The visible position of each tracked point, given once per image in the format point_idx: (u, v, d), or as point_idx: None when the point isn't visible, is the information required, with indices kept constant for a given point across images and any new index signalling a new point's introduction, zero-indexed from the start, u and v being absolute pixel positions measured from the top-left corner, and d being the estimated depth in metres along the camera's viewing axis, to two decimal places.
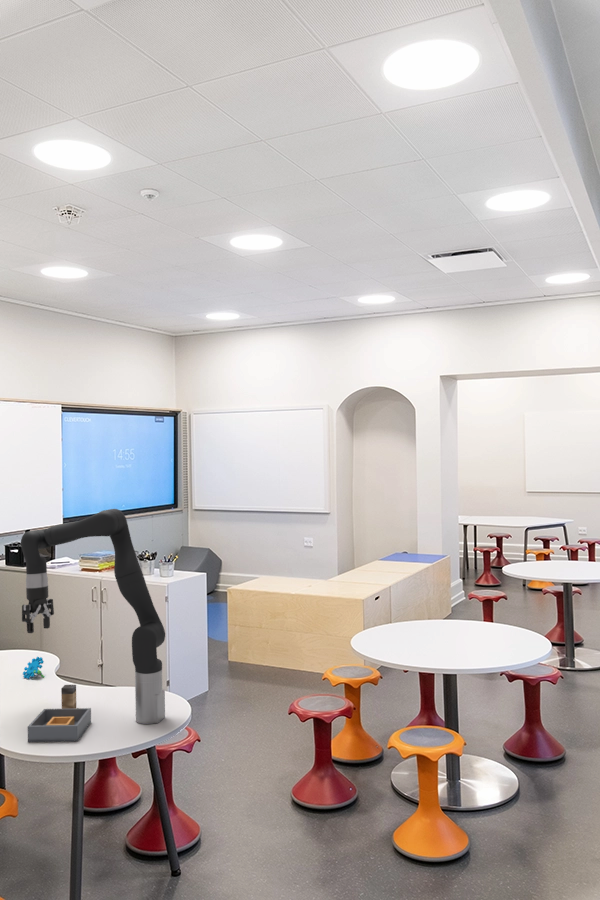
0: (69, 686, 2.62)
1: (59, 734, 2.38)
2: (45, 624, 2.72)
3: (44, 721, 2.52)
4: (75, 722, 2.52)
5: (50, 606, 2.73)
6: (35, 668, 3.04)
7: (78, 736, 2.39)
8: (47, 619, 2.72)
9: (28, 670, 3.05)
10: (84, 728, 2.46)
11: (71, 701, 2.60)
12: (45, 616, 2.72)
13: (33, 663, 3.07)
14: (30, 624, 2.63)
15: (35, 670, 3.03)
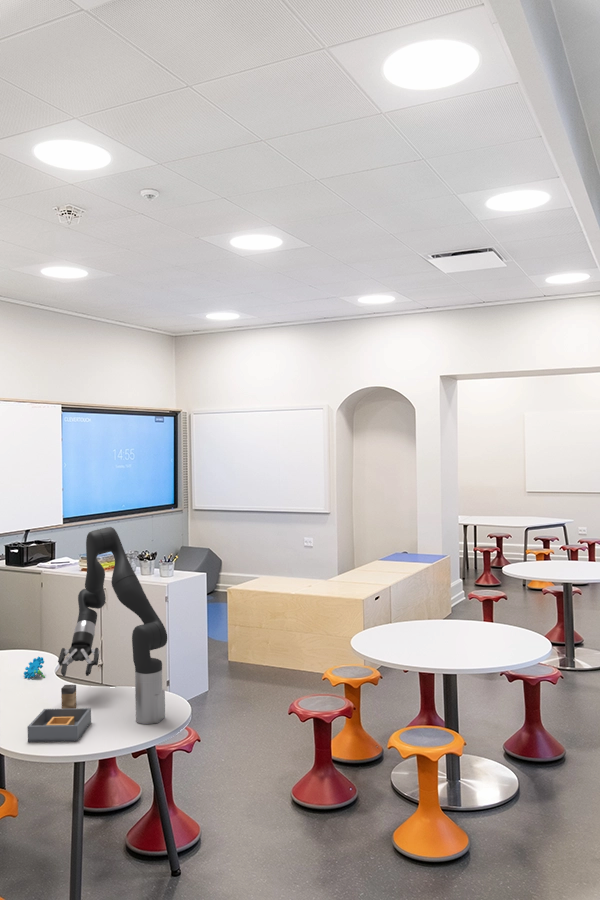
0: (69, 686, 2.62)
1: (59, 734, 2.38)
2: None
3: (44, 721, 2.52)
4: (75, 722, 2.52)
5: None
6: (36, 668, 3.04)
7: (78, 736, 2.39)
8: (87, 665, 2.72)
9: (29, 670, 3.06)
10: (84, 728, 2.46)
11: (71, 701, 2.60)
12: None
13: (34, 663, 3.07)
14: (62, 666, 2.72)
15: (35, 670, 3.03)
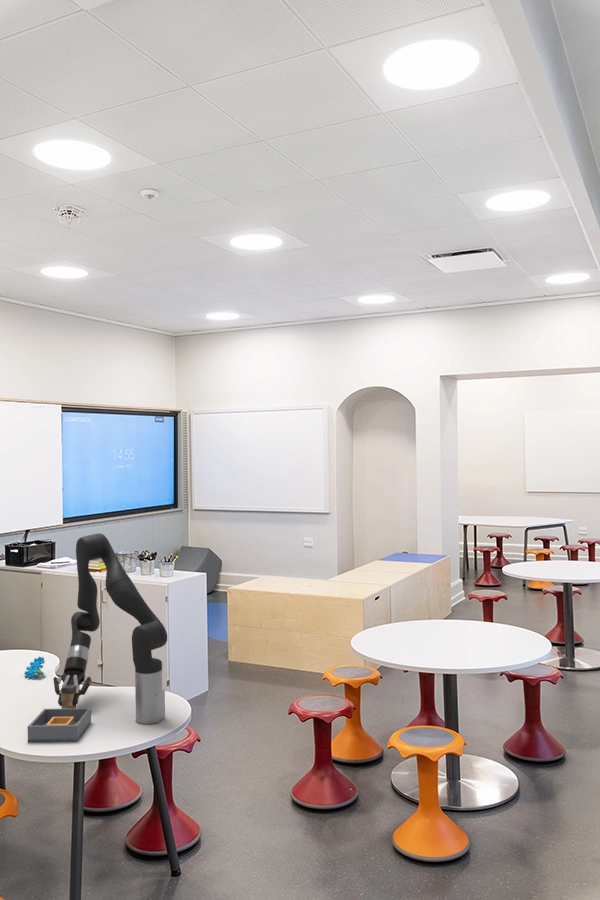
0: (69, 686, 2.62)
1: (59, 734, 2.38)
2: None
3: (44, 721, 2.52)
4: (75, 722, 2.52)
5: None
6: (36, 668, 3.04)
7: (78, 736, 2.39)
8: (74, 695, 2.62)
9: (29, 670, 3.06)
10: (84, 728, 2.46)
11: (71, 701, 2.60)
12: None
13: (35, 663, 3.07)
14: (60, 695, 2.62)
15: (36, 670, 3.03)
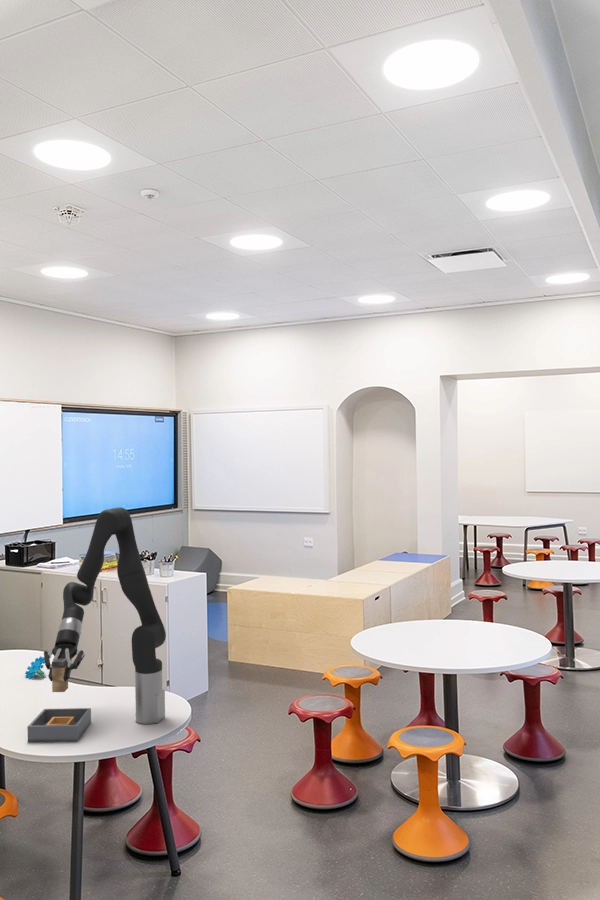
0: (60, 660, 2.47)
1: (59, 734, 2.38)
2: None
3: (44, 721, 2.52)
4: (75, 722, 2.52)
5: None
6: (36, 668, 3.04)
7: (78, 736, 2.39)
8: None
9: (30, 670, 3.06)
10: (84, 728, 2.46)
11: (62, 675, 2.45)
12: None
13: (36, 663, 3.08)
14: (50, 670, 2.46)
15: (36, 670, 3.03)
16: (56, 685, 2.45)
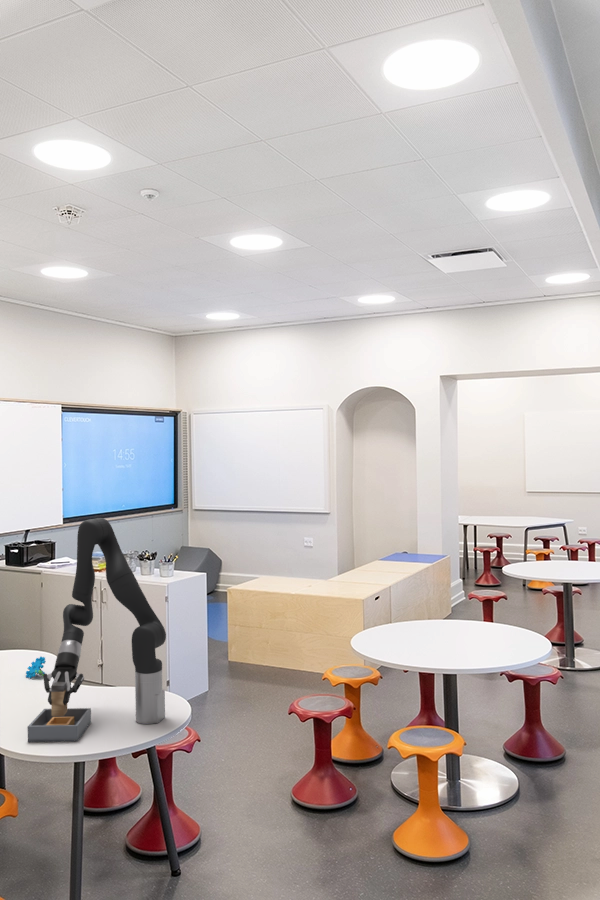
0: (60, 683, 2.46)
1: (59, 734, 2.38)
2: None
3: (44, 721, 2.52)
4: (75, 722, 2.52)
5: None
6: (37, 668, 3.04)
7: (78, 736, 2.39)
8: (65, 693, 2.46)
9: (31, 669, 3.06)
10: (84, 728, 2.46)
11: (62, 699, 2.44)
12: None
13: (36, 663, 3.08)
14: (50, 693, 2.46)
15: (36, 670, 3.03)
16: (55, 709, 2.44)
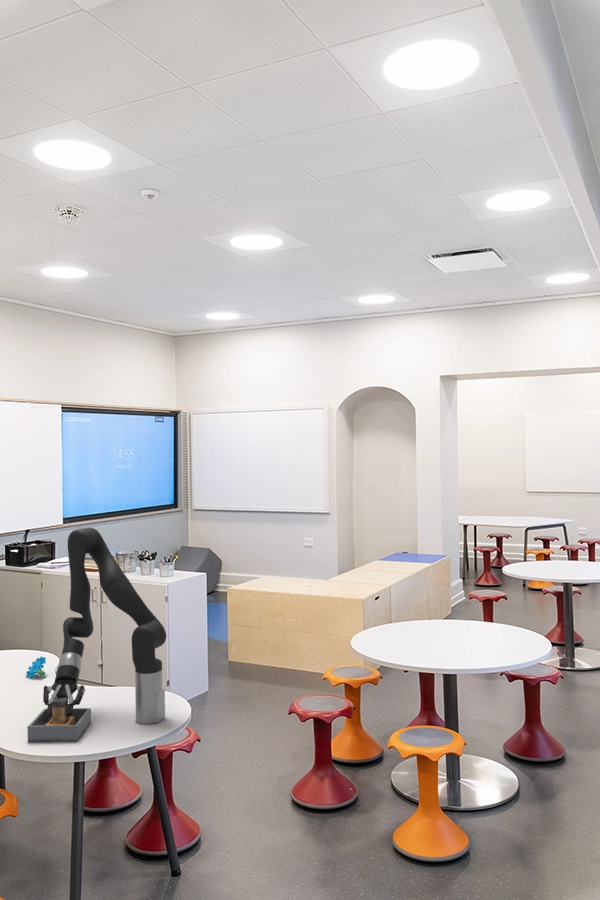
0: (60, 699, 2.46)
1: (59, 734, 2.38)
2: None
3: (44, 721, 2.52)
4: (75, 722, 2.52)
5: None
6: (37, 668, 3.04)
7: (78, 736, 2.39)
8: (68, 705, 2.46)
9: (31, 669, 3.06)
10: (84, 728, 2.46)
11: (62, 715, 2.44)
12: None
13: (36, 663, 3.08)
14: (48, 706, 2.46)
15: (37, 670, 3.03)
16: None
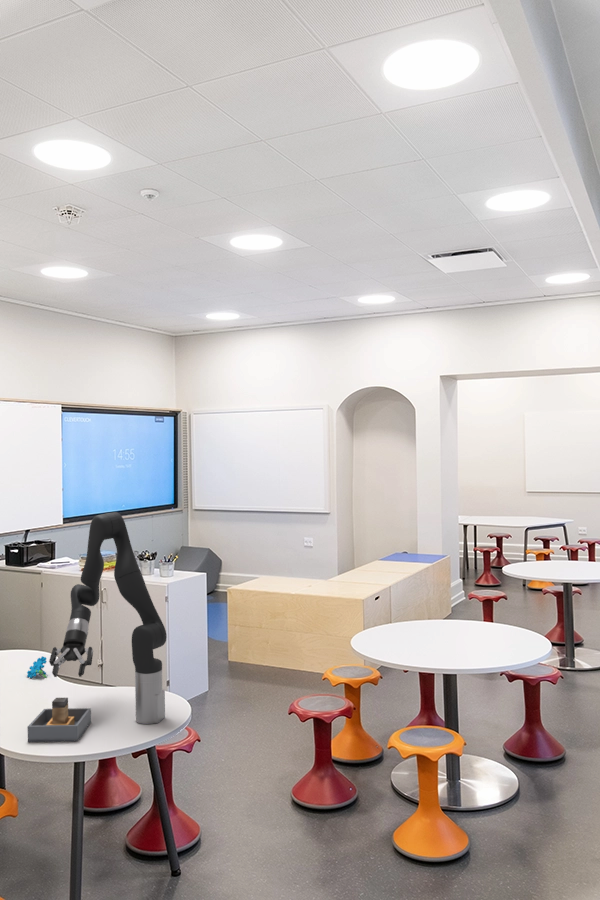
0: (60, 699, 2.46)
1: (59, 734, 2.38)
2: None
3: (44, 721, 2.52)
4: (75, 722, 2.52)
5: (88, 654, 2.59)
6: (38, 668, 3.04)
7: (78, 736, 2.39)
8: (80, 665, 2.56)
9: (32, 669, 3.06)
10: (84, 728, 2.46)
11: (62, 715, 2.44)
12: None
13: (37, 662, 3.08)
14: (54, 666, 2.56)
15: (37, 670, 3.03)
16: None
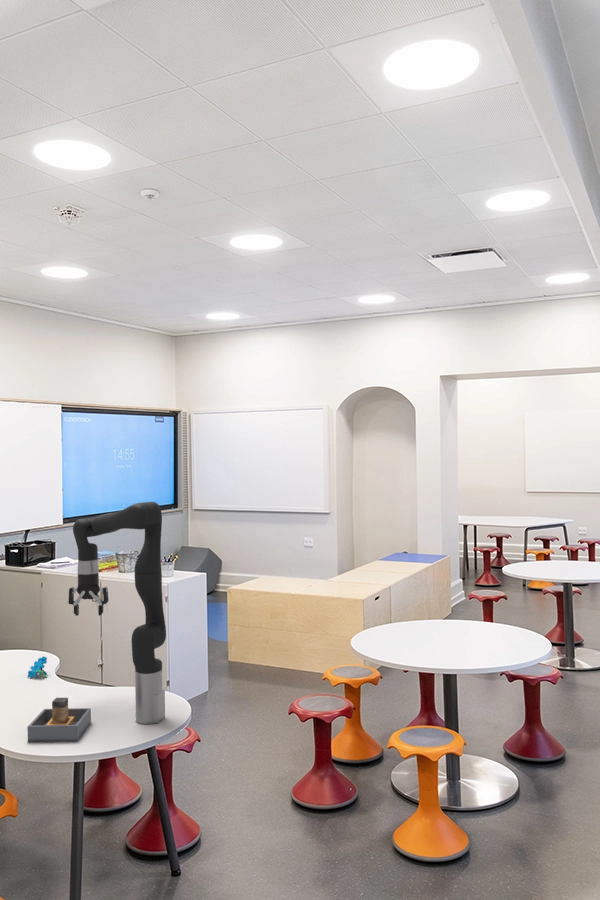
0: (60, 699, 2.46)
1: (59, 734, 2.38)
2: None
3: (44, 721, 2.52)
4: (75, 722, 2.52)
5: None
6: (38, 668, 3.04)
7: (78, 736, 2.39)
8: None
9: (32, 669, 3.06)
10: (84, 728, 2.46)
11: (62, 715, 2.44)
12: None
13: (38, 662, 3.08)
14: (74, 607, 2.75)
15: (37, 670, 3.03)
16: None
